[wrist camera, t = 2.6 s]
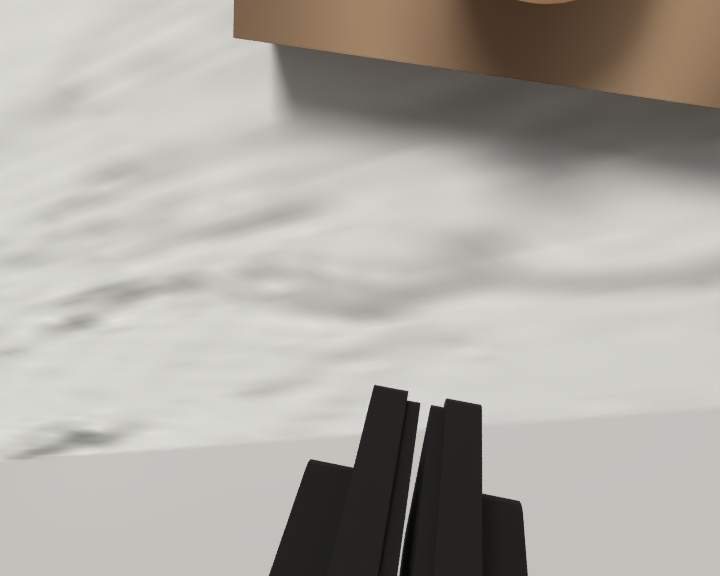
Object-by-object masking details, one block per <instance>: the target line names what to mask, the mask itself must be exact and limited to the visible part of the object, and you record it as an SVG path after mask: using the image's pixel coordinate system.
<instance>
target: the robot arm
mask: <svg viewBox="0 0 720 576" xmlns="http://www.w3.org/2000/svg"><path fill="white" fill-rule="evenodd" d="M407 396H408V391H404V390H398V389H393V388H388V387H382V386H377V385H374V388H373V392H372V396H371V400H370V404H369V408H368V412H367V416H366V420H365V424H364V428H363V432H362V436H361V440H360V444H359V449H358V452H357V456H356V460H355V464H354V468H351V467H347V466H341V465H337V464H331V463H327V462H322V461H317V460H310V461H309V462H308V464H307V467H306V469H305V472H304V475H303V478H302V481H301V484H300V487H299V490H298V493H297V496H296V498H295V501H294V504H293V507H292V510H291V513H290V516H289V519H288V522H287V525H286V528H285V530H284V534H283V536H282V539H281V542H280V545H279V548H278V551H277V554H276V557H275V560H274V563H273V566H272V568H271V571H270V574H269V576H397V572H398V565H399V557H400V550H401V542H402V534H403V528H404V520H405V513H406V506H407V498H408V491H409V483H410V476H411V469H412V461H413V453H414V446H415V439H416V432H417V424H418V417H419V409H420V403H417V402H412V401H407ZM399 576H528V574H527V561H526V548H525V536H524V522H523V511H522V506H521V503H520V501H516V500H511V499H506V498H501V497H496V496H491V495H486V494H482V407H481V405H478V404H473V403H468V402H462V401H457V400H452V399H446V401H445V404H444V408H443V407H438V406H433V405H431V408H430V412H429V417H428V422H427V427H426V432H425V437H424V443H423V448H422V452H421V457H420V462H419V468H418V472H417V478H416V482H415V488H414V493H413V498H412V503H411V508H410V513H409V518H408V523H407V528H406V533H405V539H404V545H403V553H402V560H401V567H400V575H399Z"/></svg>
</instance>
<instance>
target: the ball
mask: <svg viewBox="0 0 720 576" xmlns="http://www.w3.org/2000/svg"><path fill="white" fill-rule="evenodd" d="M519 1H524V2H529V3H538V4H554V3H565V2H569V1H574V0H519Z"/></svg>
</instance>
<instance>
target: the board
mask: <svg viewBox="0 0 720 576" xmlns="http://www.w3.org/2000/svg"><path fill="white" fill-rule="evenodd" d="M233 38H239V39H246V40H253V41H260V42H267V43H274V44H280V45H287V46H294V47H301V48H308V49H315V50H322V51H329V52H335V53H342V54H349V55H356V56H363V57H370V58H377V59H384V60H390V61H397V62H404V63H411V64H418V65H425V66H432V67H439V68H445V69H452V70H459V71H466V72H473V73H480V74H487V75H494V76H500V77H507V78H514V79H521V80H528V81H535V82H542V83H549V84H555V85H562V86H569V87H576V88H583V89H590V90H597V91H604V92H610V93H617V94H624V95H631V96H638V97H645V98H652V99H659V100H665V101H672V102H679V103H686V104H693V105H700V106H707V107H714V108H720V0H574V1H569V2H565V3H554V4H538V3H529V2H524V1H519V0H234V35H233Z"/></svg>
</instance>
